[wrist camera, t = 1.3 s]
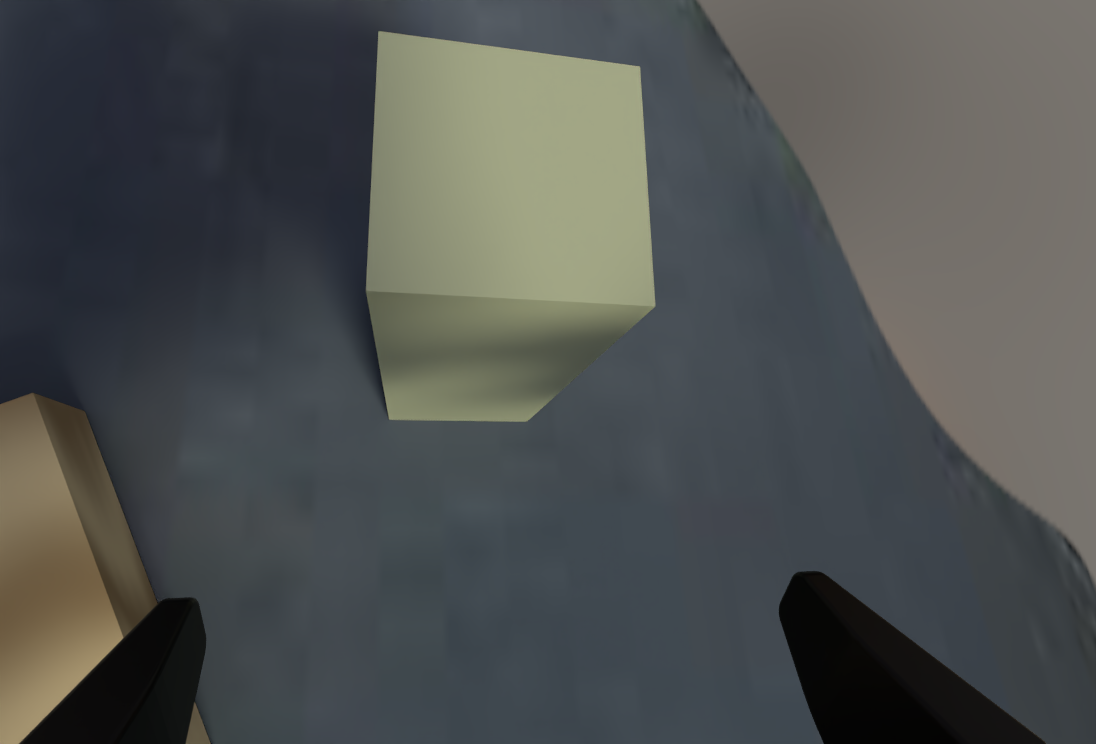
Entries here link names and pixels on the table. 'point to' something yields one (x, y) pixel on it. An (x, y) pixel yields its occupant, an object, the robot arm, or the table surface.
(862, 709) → the robot arm
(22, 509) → the maple base
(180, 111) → the table surface
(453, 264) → the sage pillar
